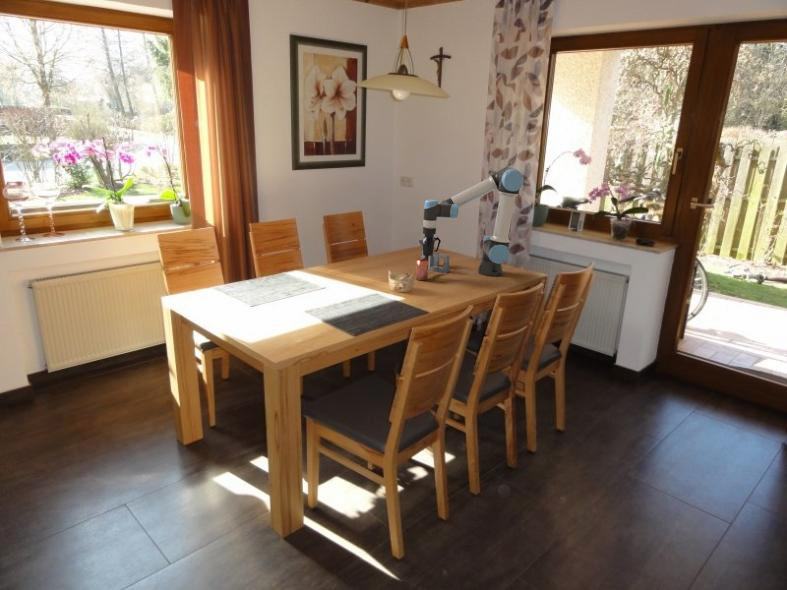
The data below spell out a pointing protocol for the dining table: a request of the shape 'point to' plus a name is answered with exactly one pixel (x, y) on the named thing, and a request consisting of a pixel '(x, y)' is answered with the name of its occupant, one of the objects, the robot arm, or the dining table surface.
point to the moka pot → (433, 250)
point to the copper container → (423, 269)
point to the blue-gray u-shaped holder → (445, 266)
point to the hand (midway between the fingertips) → (427, 266)
